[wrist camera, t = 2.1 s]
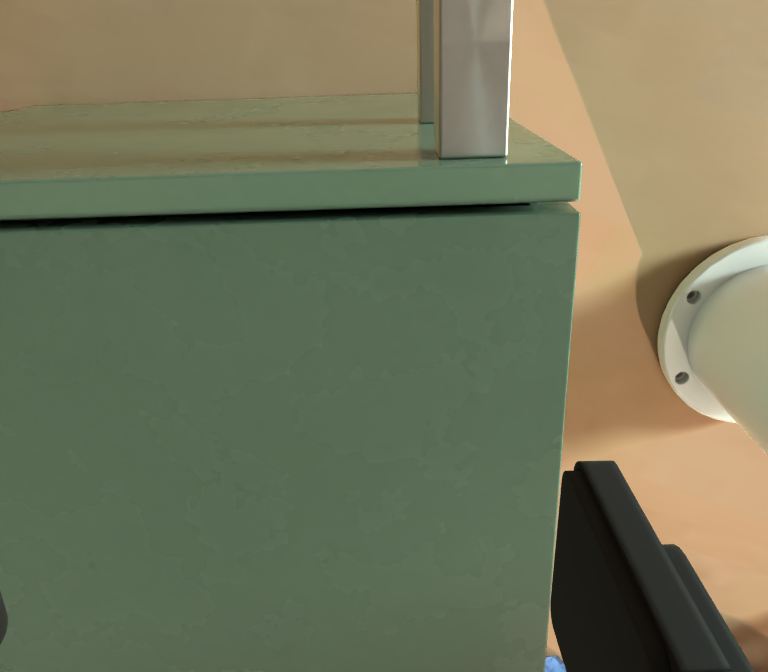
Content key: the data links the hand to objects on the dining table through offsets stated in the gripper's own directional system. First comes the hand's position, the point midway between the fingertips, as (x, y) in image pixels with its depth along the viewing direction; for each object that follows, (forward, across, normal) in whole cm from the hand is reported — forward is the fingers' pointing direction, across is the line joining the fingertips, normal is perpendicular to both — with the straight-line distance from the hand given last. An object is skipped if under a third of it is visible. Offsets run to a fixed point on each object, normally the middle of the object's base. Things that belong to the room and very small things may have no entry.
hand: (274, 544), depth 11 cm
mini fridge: (+33, +5, +5) cm, 34 cm away
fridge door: (+33, +5, -7) cm, 34 cm away
